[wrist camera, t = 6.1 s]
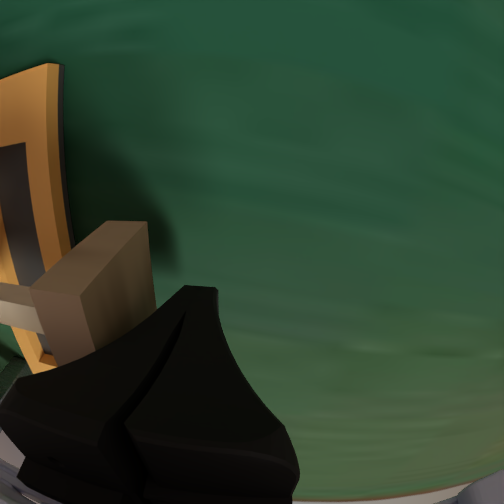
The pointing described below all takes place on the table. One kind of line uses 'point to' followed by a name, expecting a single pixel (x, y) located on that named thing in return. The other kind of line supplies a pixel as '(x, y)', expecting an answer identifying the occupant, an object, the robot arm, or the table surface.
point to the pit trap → (33, 189)
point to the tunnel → (12, 375)
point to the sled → (87, 292)
